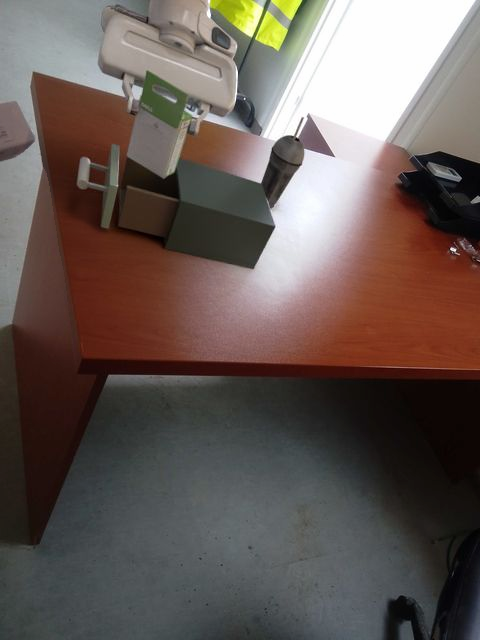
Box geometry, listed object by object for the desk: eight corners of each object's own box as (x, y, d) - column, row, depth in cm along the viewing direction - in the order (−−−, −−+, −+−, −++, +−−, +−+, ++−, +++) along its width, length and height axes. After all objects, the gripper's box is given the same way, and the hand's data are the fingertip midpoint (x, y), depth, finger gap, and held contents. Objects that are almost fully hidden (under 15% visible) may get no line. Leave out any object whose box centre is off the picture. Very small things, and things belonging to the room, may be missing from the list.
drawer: (71, 220, 71) (78, 175, 66) (77, 177, 79) (83, 134, 74) (194, 249, 80) (208, 211, 74) (188, 207, 87) (201, 171, 82)
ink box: (175, 173, 75) (200, 90, 66) (163, 180, 72) (188, 95, 63) (139, 150, 75) (159, 65, 66) (125, 157, 72) (145, 68, 63)
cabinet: (164, 249, 78) (181, 200, 71) (161, 203, 86) (175, 156, 80) (253, 269, 85) (275, 226, 78) (242, 225, 93) (261, 183, 87)
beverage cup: (284, 207, 106) (327, 125, 93) (269, 214, 101) (311, 128, 88) (261, 189, 107) (300, 105, 94) (244, 195, 102) (282, 107, 89)
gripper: (106, -16, 60) (91, 89, 61) (247, 47, 69) (232, 139, 69) (102, 11, 66) (88, 107, 67) (232, 67, 75) (219, 151, 75)
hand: (163, 123), depth 68 cm, fingers closed on ink box, 8 cm apart
